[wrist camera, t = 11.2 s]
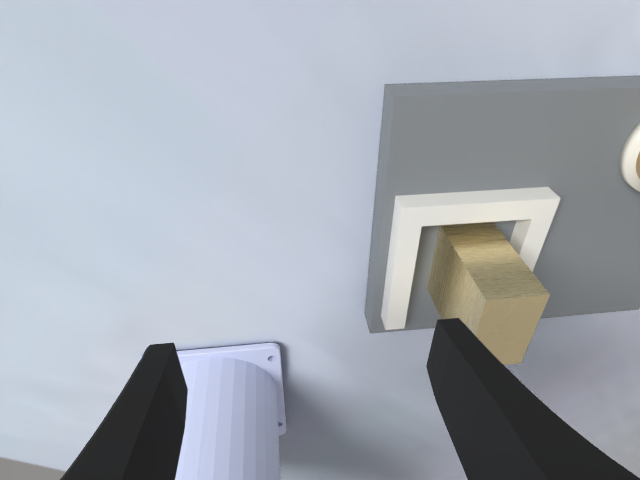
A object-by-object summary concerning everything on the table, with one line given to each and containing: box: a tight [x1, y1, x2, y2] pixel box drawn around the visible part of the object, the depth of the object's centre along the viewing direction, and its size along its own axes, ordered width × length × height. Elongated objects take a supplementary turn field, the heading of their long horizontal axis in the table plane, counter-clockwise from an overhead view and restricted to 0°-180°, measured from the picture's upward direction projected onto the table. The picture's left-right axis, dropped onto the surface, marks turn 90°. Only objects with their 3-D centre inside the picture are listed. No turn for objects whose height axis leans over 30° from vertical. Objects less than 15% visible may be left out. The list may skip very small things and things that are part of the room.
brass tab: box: [427, 222, 550, 365], centre depth 19 cm, size 4×2×5 cm, turn 0°
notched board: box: [365, 76, 640, 333], centre depth 21 cm, size 13×16×2 cm
